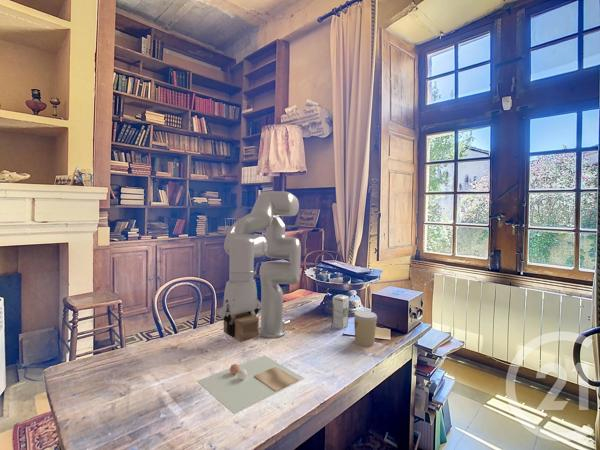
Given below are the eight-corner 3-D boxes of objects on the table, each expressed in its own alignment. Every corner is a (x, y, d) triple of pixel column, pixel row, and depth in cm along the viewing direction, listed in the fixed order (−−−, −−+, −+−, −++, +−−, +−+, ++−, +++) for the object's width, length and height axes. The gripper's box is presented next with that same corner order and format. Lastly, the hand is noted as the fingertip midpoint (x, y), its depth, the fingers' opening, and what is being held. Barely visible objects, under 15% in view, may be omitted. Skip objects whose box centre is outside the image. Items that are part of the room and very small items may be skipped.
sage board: (264, 358, 115) (264, 355, 115) (304, 382, 100) (305, 378, 100) (196, 384, 97) (196, 380, 97) (234, 418, 82) (234, 414, 82)
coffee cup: (356, 336, 138) (357, 309, 137) (378, 340, 134) (379, 312, 133) (350, 344, 129) (351, 315, 129) (373, 349, 125) (374, 319, 125)
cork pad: (275, 367, 106) (275, 366, 106) (298, 380, 99) (298, 379, 99) (253, 376, 100) (253, 375, 100) (276, 391, 92) (276, 390, 92)
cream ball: (243, 375, 101) (243, 366, 101) (249, 379, 99) (249, 369, 99) (235, 378, 99) (235, 369, 99) (240, 382, 97) (241, 373, 96)
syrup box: (337, 323, 153) (338, 293, 152) (348, 326, 149) (349, 296, 148) (331, 326, 148) (332, 296, 147) (342, 329, 144) (343, 298, 144)
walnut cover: (223, 332, 101) (223, 313, 101) (240, 327, 106) (240, 309, 105) (240, 342, 94) (241, 322, 94) (258, 336, 98) (258, 317, 98)
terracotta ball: (236, 370, 104) (236, 361, 104) (241, 373, 102) (241, 364, 102) (228, 373, 102) (228, 364, 102) (233, 377, 100) (233, 367, 100)
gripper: (257, 271, 107) (256, 322, 108) (210, 278, 95) (209, 336, 96) (270, 274, 102) (269, 329, 103) (223, 282, 90) (222, 344, 91)
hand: (240, 332), depth 100 cm, fingers closed on walnut cover, 6 cm apart
